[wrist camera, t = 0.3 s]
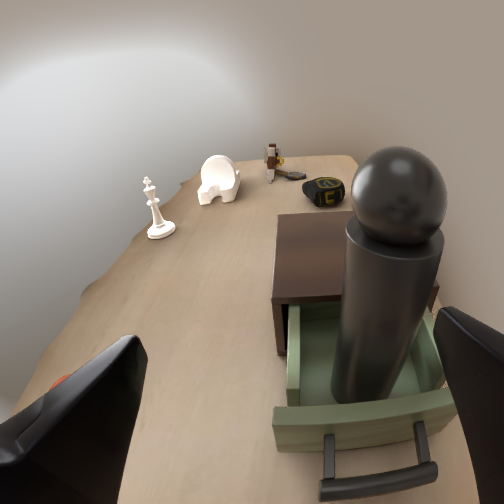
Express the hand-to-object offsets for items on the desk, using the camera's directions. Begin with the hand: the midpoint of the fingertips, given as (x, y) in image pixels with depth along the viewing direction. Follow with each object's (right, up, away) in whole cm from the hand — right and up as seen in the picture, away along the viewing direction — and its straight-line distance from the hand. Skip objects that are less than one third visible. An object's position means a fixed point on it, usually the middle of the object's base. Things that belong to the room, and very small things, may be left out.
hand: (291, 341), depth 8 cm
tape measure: (+11, +11, +42) cm, 44 cm away
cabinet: (+8, -3, +21) cm, 22 cm away
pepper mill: (+7, -7, +10) cm, 14 cm away
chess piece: (-16, +6, +40) cm, 44 cm away
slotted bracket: (-7, +15, +53) cm, 56 cm away
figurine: (+6, +20, +58) cm, 62 cm away
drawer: (+7, -8, +10) cm, 15 cm away
